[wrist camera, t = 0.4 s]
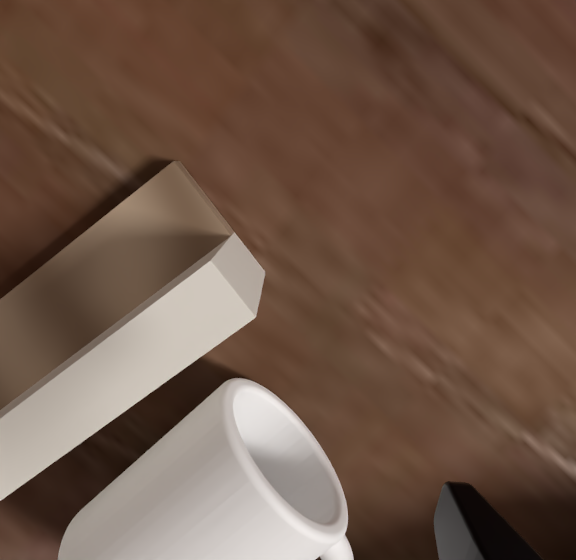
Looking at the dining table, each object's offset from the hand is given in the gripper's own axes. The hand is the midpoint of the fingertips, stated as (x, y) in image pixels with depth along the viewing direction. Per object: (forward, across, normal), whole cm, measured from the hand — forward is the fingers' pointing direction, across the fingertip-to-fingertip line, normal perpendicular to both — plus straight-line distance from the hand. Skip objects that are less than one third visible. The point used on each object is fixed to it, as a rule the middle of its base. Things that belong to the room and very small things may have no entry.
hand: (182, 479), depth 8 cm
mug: (+13, 0, +14) cm, 19 cm away
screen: (+14, +8, +6) cm, 17 cm away
